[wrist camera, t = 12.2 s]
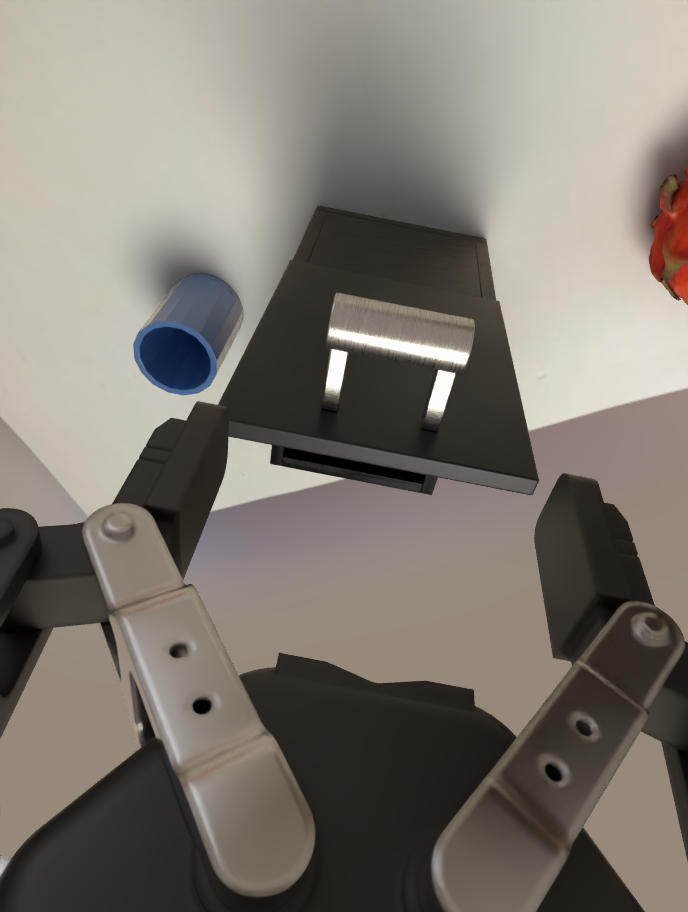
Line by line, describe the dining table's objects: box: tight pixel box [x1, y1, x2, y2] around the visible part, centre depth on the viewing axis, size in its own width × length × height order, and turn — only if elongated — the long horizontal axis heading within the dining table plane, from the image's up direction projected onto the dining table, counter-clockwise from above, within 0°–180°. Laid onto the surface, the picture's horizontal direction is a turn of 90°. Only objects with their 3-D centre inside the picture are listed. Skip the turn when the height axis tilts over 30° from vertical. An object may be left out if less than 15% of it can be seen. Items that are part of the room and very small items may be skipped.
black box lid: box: [218, 260, 539, 495], centre depth 29 cm, size 17×12×5 cm
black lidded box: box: [270, 206, 496, 495], centre depth 46 cm, size 16×12×10 cm
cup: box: [134, 274, 243, 395], centre depth 48 cm, size 6×6×8 cm
